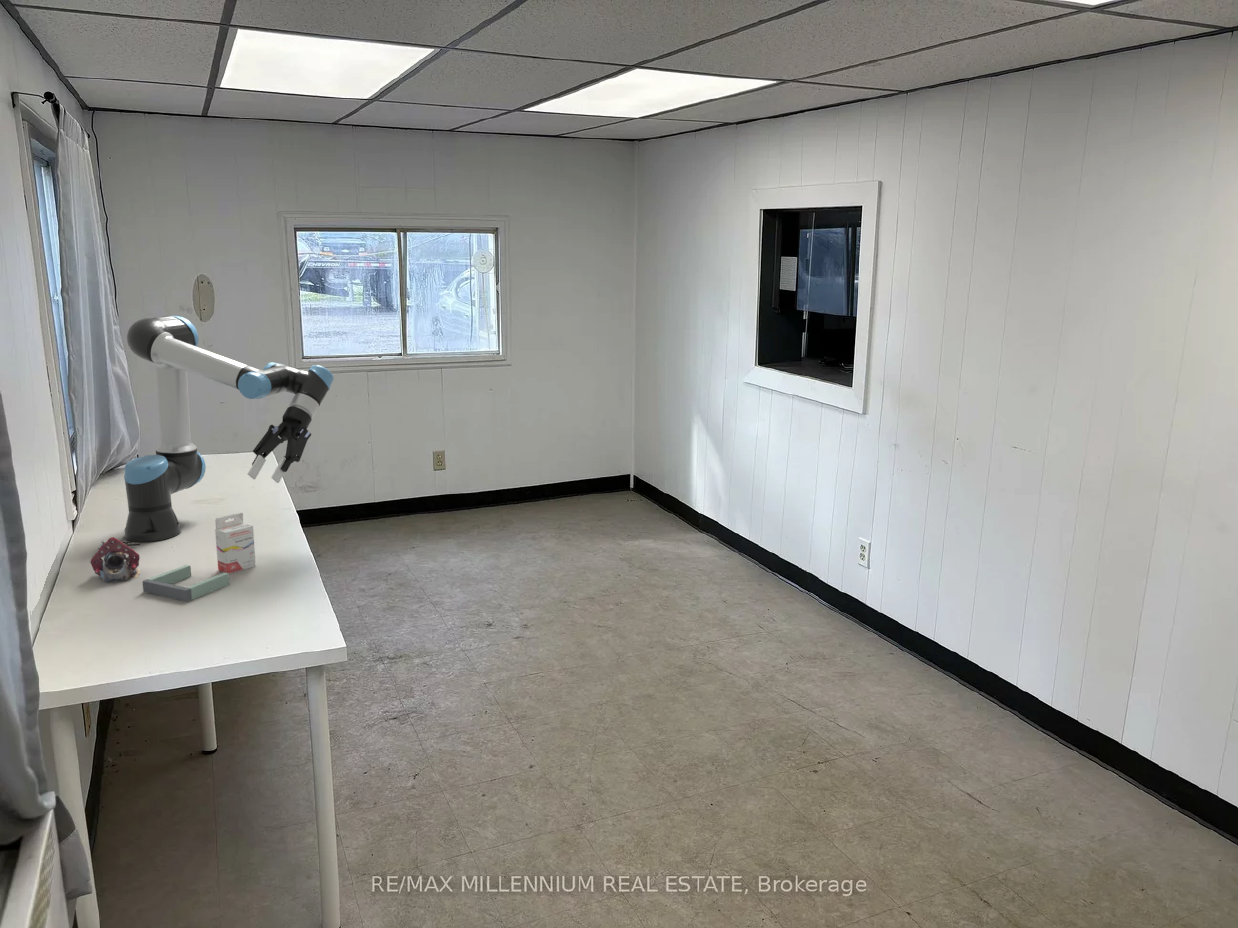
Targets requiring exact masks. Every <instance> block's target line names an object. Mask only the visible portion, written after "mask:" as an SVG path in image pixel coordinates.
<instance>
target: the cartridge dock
mask: <svg viewBox="0 0 1238 928" xmlns="http://www.w3.org/2000/svg"><path fill="white" fill-rule="evenodd" d="M191 567H192V566H191V565H190V564H185V565H182V566H179V567H176V568H173V569H171V570H169V571H166V572H162V573H160V574H157V575H155V576H153V577H149V578H147V579H144V580H142V590H143V593H145V594H150V595H154V596H155V595H156V596H160V597H163V598H168V599H173V600H175V601H176V600H178V601H182V602H186V603H188V602H190V601H193V600H195V599H197V598H199V597H202V596H204V595H207V594H210V593H212V592H214V591H216V590H219V589H222V588H224V587H226V586H228V585H230V573H225V572H221V573H220V574H217V575H215V576H211V577H210V578H207V579H205V580H201V581H199V582H197V583H194V584H192V585H190V586H182V585H177V584H175V583H178V582H180V581H182V580H185V579H188V578H191V577H192V571H191V570H192V569H191Z"/></svg>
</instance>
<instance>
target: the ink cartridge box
mask: <svg viewBox="0 0 1238 928" xmlns="http://www.w3.org/2000/svg"><path fill="white" fill-rule="evenodd" d="M229 519H231V520H230V521H228V520H229ZM232 519H233V520H232ZM225 521H226V522H225ZM214 532H215V546H216V556H217V557H216V558H217V569H218V571H221V573H224V572H225V573H229V574H231V573H235V572H238V571H239V572H240V571H243V570H247V569H249V568H253V567H256V552H255V550H256V549H255V537H254V536H255V535H254V525H252V524H249V523H246V522H244V513H243V512H238V513H234V514H230V515H229V514H228V515H226V516H225V515H224V516H221V517H216V518H215V530H214Z"/></svg>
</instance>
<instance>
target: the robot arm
mask: <svg viewBox="0 0 1238 928" xmlns="http://www.w3.org/2000/svg"><path fill="white" fill-rule="evenodd" d="M198 334H199V333H198V330H197V328H196V326H195V325H194V323H192V322H191V321H190V320H189V319H187V318H185V317H183V316H179V315H164V316H158V317H149V318H148V317H147V318H142V319H139V320H137V321H135V322H133V323H132V325H130V326H129V329H128V330H127V334H126V340H127V341H126V342H127V345H128V348H129V349H130V351H131V352H132V353H133V354H135V355H136V356H137V357H139V358H141V359H142V360H146V361H148V362H149V363H151V364H152V365H153V366H154V367H155V376H156V377H155V378H156V390H157V391H156V393H157V395H156V396H157V406H158V407H157V408H158V409H157V410H158V423H159V437H160V438H159V439H160V443H159V444H158V445H157V446H156V448H155V454H148V455H144V456H139V457H135V458H133V459H131V460H129V461H128V462H127V463H126V464H125V466H124V474H123V475H124V476H123V478H124V483H125V489H126V490H125V492H126V500H127V508H128V509H127V510H128V515H127V518H126V523H125V528H124V530H123V531H124V533H123V534H124V538H125V539H126V540H127V541H129V542H130V541H131V542H139V543H140V542H141V543H145V542H148V543H149V542H155V541H156V542H157V541H162V540H167V539H170V538H173V537H175V536H178V535H179V534H181V523H180V522H179V519H178V517H177V515H176V513H175V511H174V509H173V505H172V495H173V494H175V493H178V492H180V491H184V490H187V489H190V488H192V487H193V486H195V485H197V484H199V483H200V482H201V480H203V478H204V476H205V475H206V467H207V466H206V461H205V458H204V457H203V456H202V454H201V453H200V452H198V446H197V445H195V444H194V443H193V442H192V435H191V434H192V433H191V431H192V430H191V415H190V400H189V399H190V398H189V383H188V382H189V381H188V373H191V374H194V375H197V376H199V377H202V378H205V379H208V380H211V381H213V382H216V383H219V384H221V385H225V386H227V387H229V388H232V389H235V390H237V391H239V392H240V394H241V395H242V396H243V397H244V398H246V399H249V400H259V399H263V398H265V397H266V398H267V397H269V396H271V395H275V394H279V393H284V392H286V393H290V394H293V395H294V396H293V398H292V399H291V401H290V402H289V403H288V404H289V405H288V407H287V408H286V410H285V411H284V413H283V415H282V417H281V419H282V421H281V423H280V424H279V425H277V426H275V425H273V424H269V427H268V429H267V431H266V433H265V434H264V435H263V436H262V437H261V438H260V440H259V442H258V443H257V444H256V446H255V447H254V449H252V453H253V454H254V455H256V456H255V458H254V460H253V461H252V463H251V468H249V471H248V473H247V475H248V476H249V477H250V478H251V479H252V480H256V479H257V477H258V475H259V474H260V471H262V468H263V466H264V465H265V463H266V461H267V459H266V458H267V457H268V456H269V454H271V453H272V452H273V451H274V450H275V449H276V448H277V447H278V446H280V444H283V443H284V442H286V441H287V444H286V449H285V455H283V457H282V458H281V459H280V461H279V463H278V465H277V467H276V468H275V470H274V472H273V474H272V475H271V477H270V478H271V479H272V480H273V481H274V483H277V484H279V483H280V481H281V479H282V478H283V476H284V475H285V473H286V472H288V470H289V468H290V467H291V464H293V463H294V462H296V463H299V462H300V461H301V459H302V455H303V453H304V450H305V449H306V448H305V447H306V445H307V443H308V440H309V439H310V437H311V436H312V433H311V432H310V431H309V430H308V428H309V426H310V424H311V422H312V419H313V418H314V416H315V415H316V413H317V411H318V410H319V408H320V405H321V403H322V402H323V400H324V398H326V397H325V396H326V395H327V393H328V391H330V388H331V387H332V384H333V382H334V379H335V378H334V375H333V373H332V372H331V371H330V370H329V369H328V368H326V367H325V366H323V365H319V364H317V365H311V367H310V368H309V369H308V370H305V369H300V368H296V367H292V366H289V365H287V364H283V363H279V362H278V363H277V362H274V361H273V362H268V363H267V364H266V365H264V367H263V368H262V369H258V368H256V367H253V366H251V365H248V364H245V363H242V362H240V361H237V360H234V359H232V358H229V357H226V356H223V355H220V354H217V353H215V352H212V351H210V350H206V349H204V348H201V347H198V344H199V335H198Z"/></svg>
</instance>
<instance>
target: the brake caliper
mask: <svg viewBox="0 0 1238 928" xmlns="http://www.w3.org/2000/svg"><path fill="white" fill-rule="evenodd" d="M119 546H121V547H119ZM97 550H98V551H97V552H95V554H94V555H93V556H92V557H91V559H90V565H91V567H92V570H93V571H94V574H95V575H97V576H99V577H100V579H102V580H103V582H104V583H114V582H123V581H127V580H129V578H130V576H131V575H132V576H131V577H132V579H137V578H139V576H140V574H141V572H140V569H139V566H140V554H139V553H138V552H137V551H135V550H134V549H132V548H131V547H130V546H128V545H127V544H125V543H124V542H122V541H121V540H119V539H117V538H116V537H109V538H108V540H102V541H101V545H99V546H98V547H97ZM102 558H103V559H102Z"/></svg>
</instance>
